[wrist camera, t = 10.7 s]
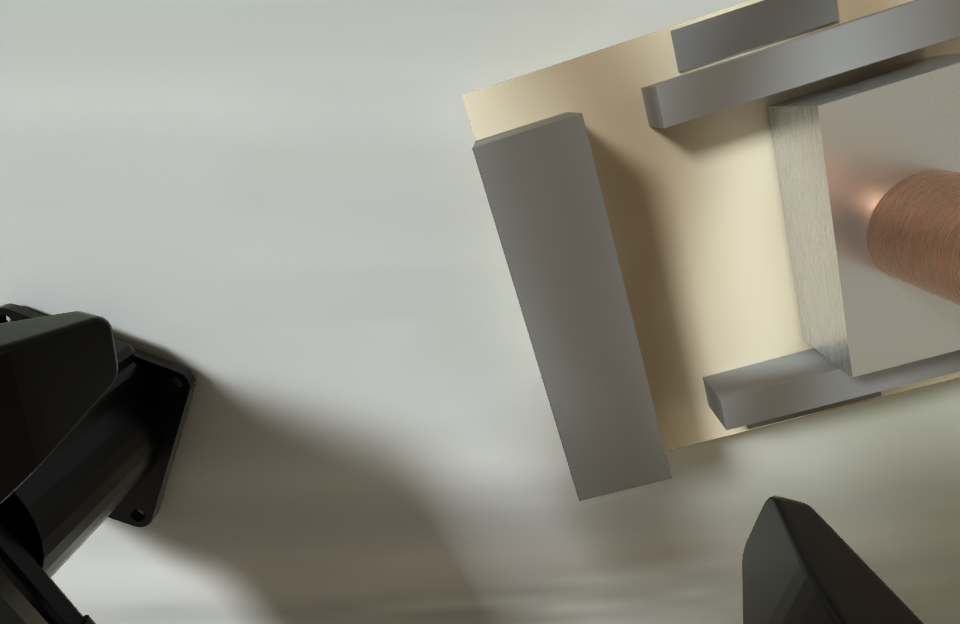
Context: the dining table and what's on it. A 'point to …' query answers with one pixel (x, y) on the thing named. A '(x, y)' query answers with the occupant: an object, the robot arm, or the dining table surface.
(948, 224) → the press jaw
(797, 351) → the press frame
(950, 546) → the dining table surface
